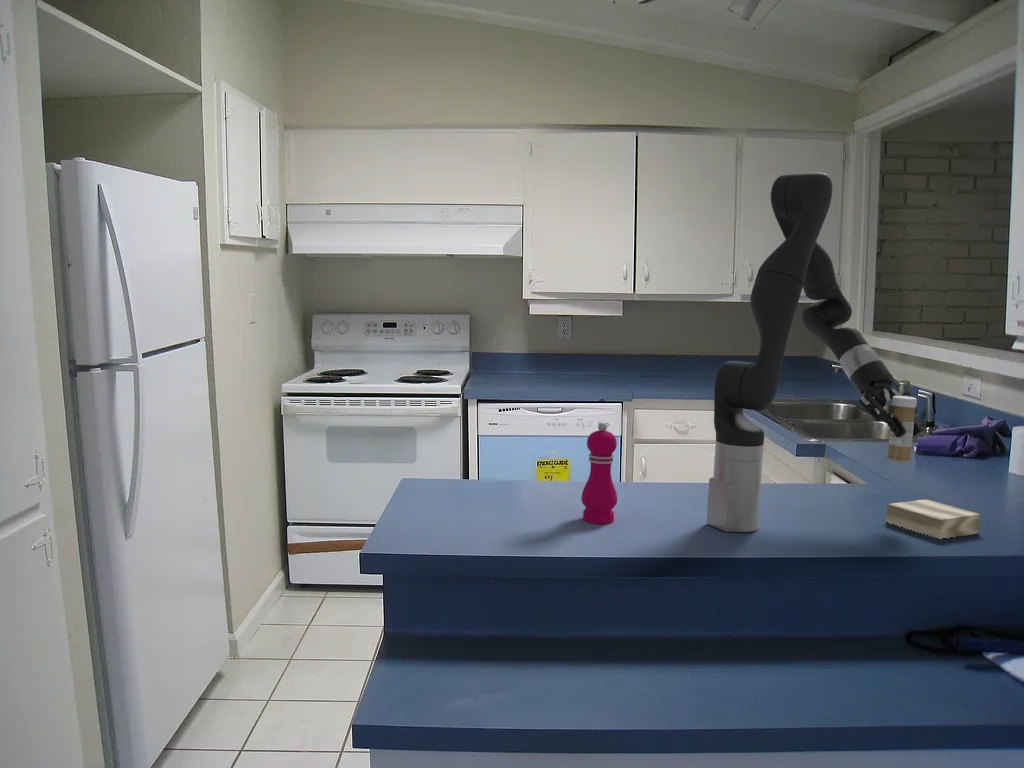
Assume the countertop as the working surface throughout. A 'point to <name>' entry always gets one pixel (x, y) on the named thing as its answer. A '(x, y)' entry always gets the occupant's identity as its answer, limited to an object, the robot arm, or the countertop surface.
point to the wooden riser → (933, 518)
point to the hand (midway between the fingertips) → (910, 434)
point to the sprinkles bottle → (905, 414)
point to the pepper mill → (600, 478)
